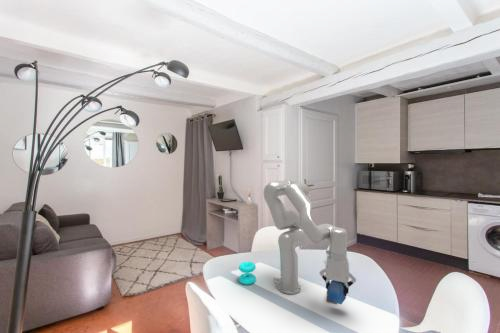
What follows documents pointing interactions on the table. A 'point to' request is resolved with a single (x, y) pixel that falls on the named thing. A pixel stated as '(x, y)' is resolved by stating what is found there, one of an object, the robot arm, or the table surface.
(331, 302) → the letter cube
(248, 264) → the donuts
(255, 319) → the table surface
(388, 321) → the table surface
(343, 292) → the perfume bottle
